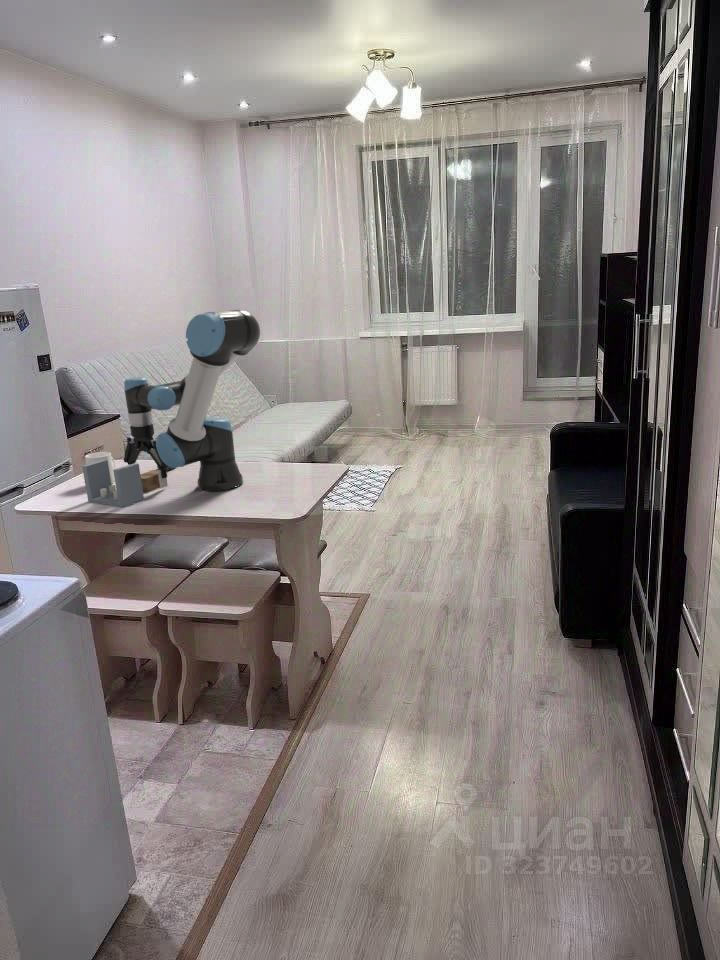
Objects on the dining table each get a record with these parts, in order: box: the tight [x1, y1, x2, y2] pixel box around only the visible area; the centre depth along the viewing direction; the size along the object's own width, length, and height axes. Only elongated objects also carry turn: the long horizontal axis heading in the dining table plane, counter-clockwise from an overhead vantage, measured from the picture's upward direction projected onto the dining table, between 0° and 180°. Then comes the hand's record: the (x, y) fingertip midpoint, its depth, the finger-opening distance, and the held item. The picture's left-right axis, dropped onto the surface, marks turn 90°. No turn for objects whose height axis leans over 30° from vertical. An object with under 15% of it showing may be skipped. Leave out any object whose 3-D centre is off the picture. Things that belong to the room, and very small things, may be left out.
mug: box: [84, 451, 116, 485], centre depth 255 cm, size 9×12×11 cm
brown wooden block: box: [140, 469, 161, 494], centre depth 245 cm, size 10×6×5 cm, turn 154°
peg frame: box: [81, 460, 145, 508], centre depth 232 cm, size 17×8×12 cm, turn 58°
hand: (149, 484), depth 246 cm, fingers open, 13 cm apart
